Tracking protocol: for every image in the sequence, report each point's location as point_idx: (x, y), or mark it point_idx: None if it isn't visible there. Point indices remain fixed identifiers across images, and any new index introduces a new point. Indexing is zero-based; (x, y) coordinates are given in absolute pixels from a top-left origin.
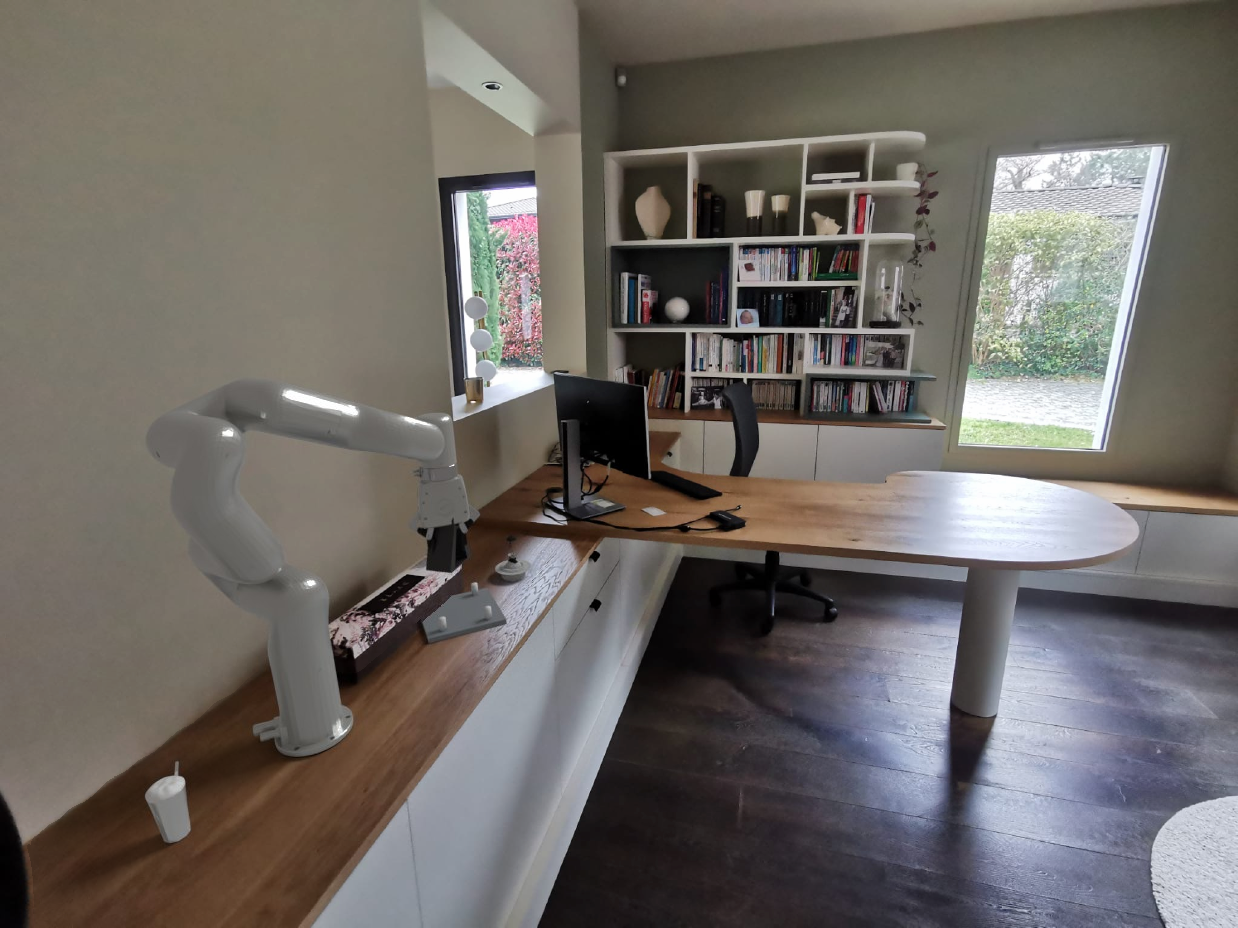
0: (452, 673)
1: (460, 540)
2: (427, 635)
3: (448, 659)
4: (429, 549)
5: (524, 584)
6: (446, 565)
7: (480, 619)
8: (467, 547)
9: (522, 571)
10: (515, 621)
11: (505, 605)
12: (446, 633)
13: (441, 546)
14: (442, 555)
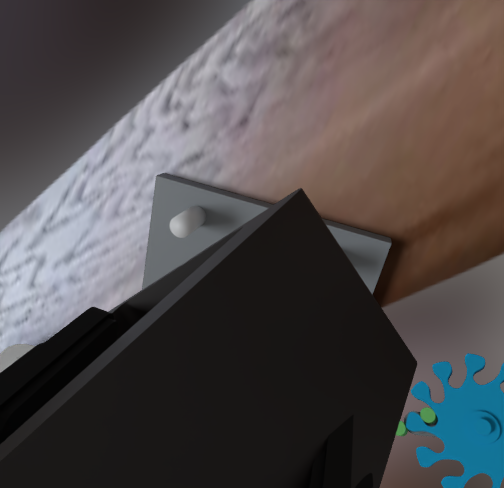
0: (426, 17)
1: (57, 383)
2: (384, 261)
3: (391, 109)
4: (364, 483)
5: (49, 316)
6: (305, 244)
7: (217, 228)
8: None
9: (26, 350)
10: (138, 165)
11: (128, 261)
12: (333, 229)
13: (265, 414)
14: (296, 332)
